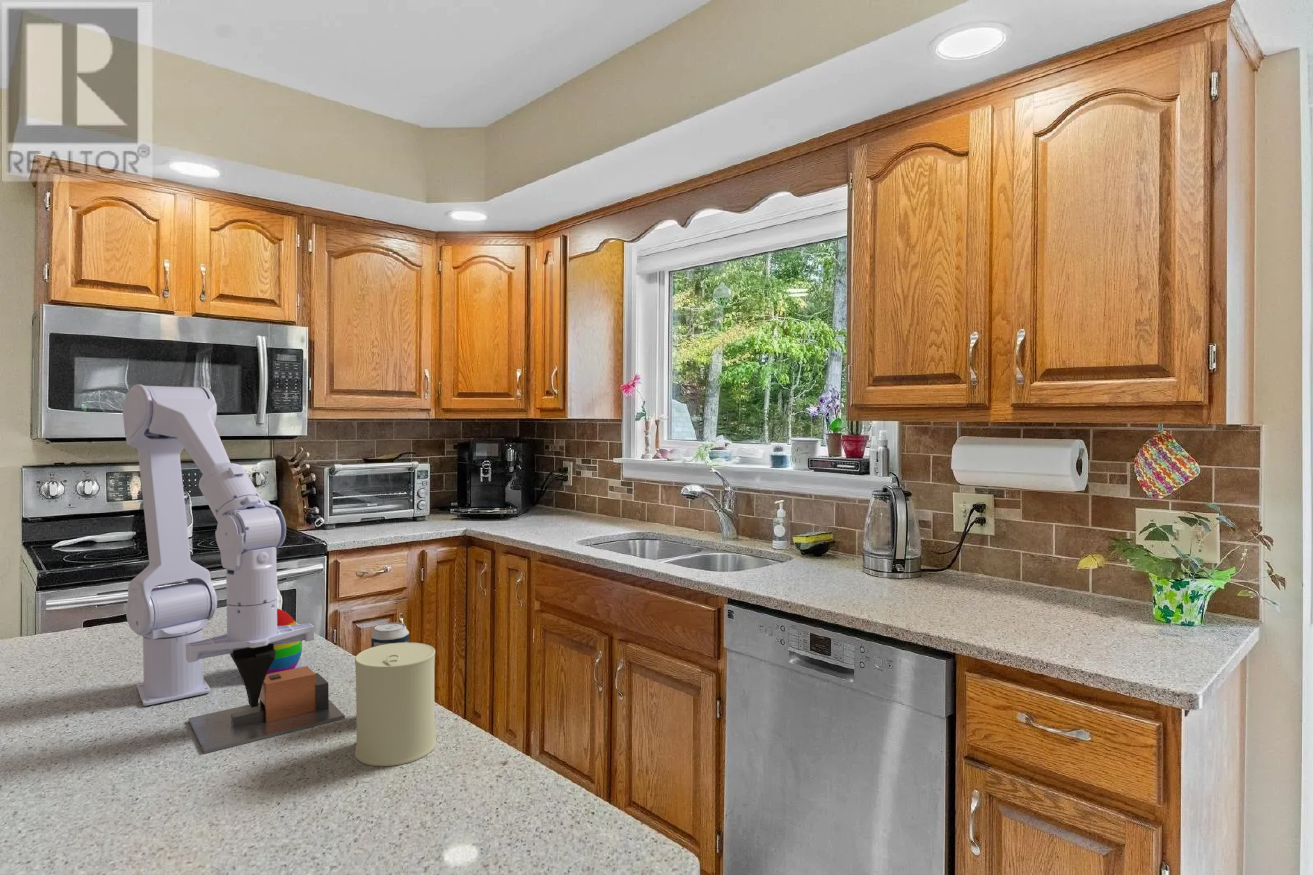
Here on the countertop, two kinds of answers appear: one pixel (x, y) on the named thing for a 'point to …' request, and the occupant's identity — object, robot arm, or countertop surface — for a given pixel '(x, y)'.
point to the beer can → (389, 634)
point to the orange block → (288, 693)
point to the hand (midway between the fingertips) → (253, 704)
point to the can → (395, 703)
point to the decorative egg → (285, 648)
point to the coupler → (259, 722)
